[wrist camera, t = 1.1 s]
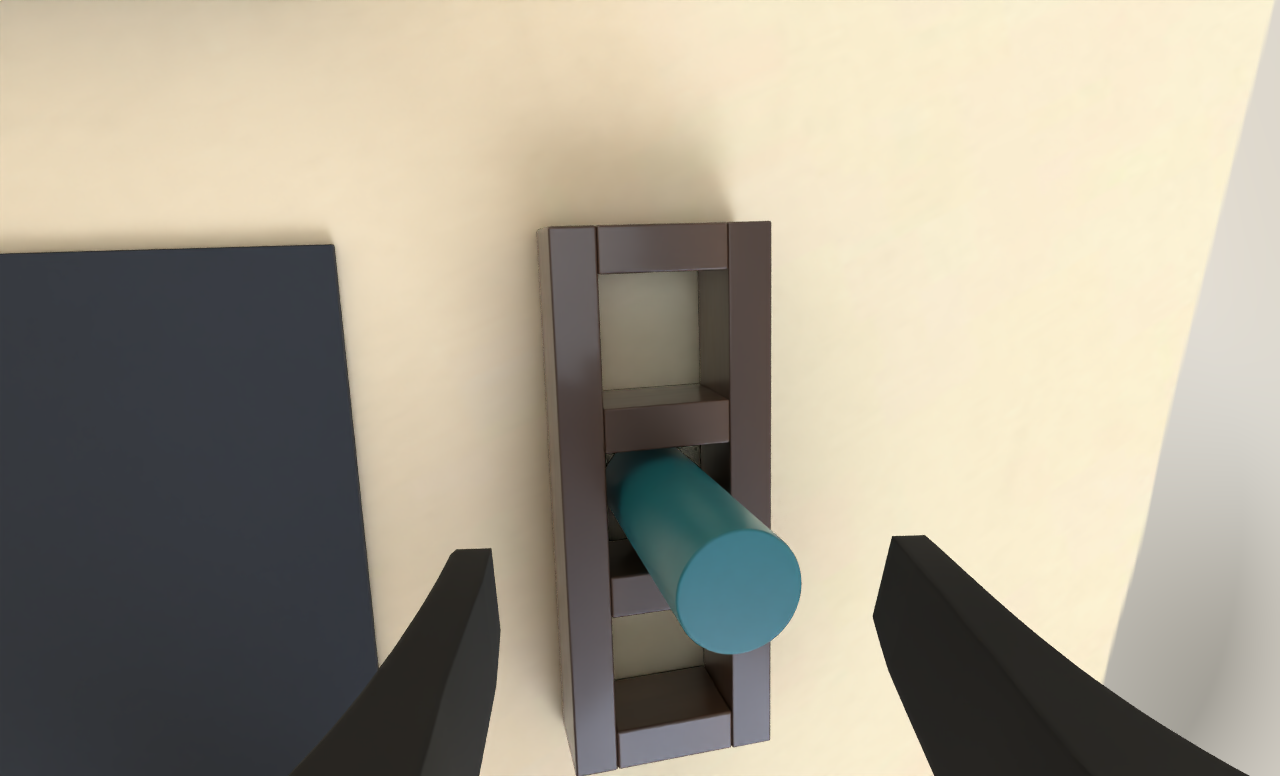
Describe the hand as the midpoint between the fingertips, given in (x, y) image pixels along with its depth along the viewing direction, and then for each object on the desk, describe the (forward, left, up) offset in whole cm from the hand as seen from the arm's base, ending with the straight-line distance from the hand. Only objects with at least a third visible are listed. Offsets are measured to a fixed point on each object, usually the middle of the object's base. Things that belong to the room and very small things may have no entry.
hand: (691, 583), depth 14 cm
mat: (-3, +13, -13) cm, 18 cm away
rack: (-2, -2, -13) cm, 13 cm away
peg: (-2, -2, -13) cm, 13 cm away
